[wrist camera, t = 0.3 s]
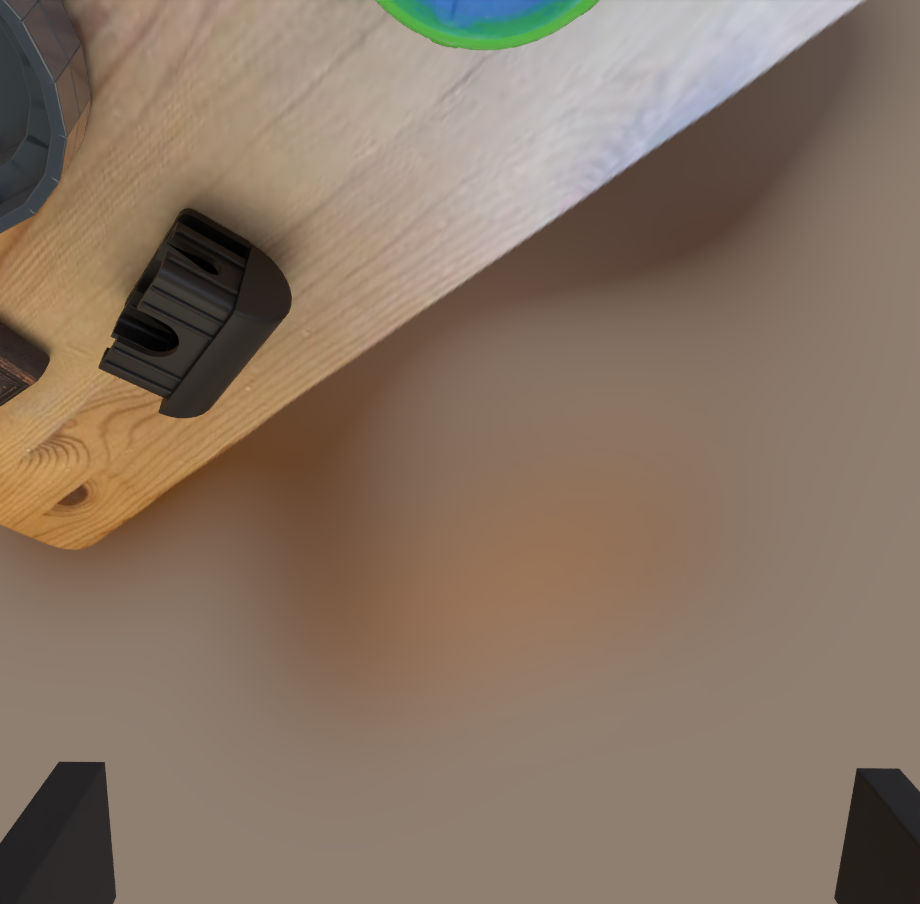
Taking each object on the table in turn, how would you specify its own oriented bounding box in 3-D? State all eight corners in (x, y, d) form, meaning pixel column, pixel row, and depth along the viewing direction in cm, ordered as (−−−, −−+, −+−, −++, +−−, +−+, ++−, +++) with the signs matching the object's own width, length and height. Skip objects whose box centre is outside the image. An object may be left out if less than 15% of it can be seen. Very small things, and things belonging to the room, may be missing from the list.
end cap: (225, 359, 54) (205, 435, 50) (121, 308, 51) (90, 384, 47) (301, 263, 49) (286, 339, 44) (189, 197, 45) (160, 274, 41)
